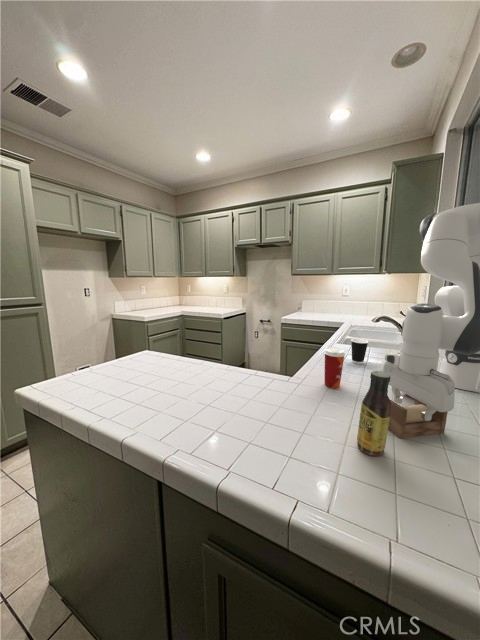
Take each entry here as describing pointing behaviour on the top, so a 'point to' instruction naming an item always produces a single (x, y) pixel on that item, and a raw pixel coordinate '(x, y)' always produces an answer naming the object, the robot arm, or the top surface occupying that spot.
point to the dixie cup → (358, 350)
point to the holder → (417, 429)
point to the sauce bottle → (375, 415)
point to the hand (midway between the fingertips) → (411, 410)
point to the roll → (415, 414)
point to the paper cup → (333, 366)
